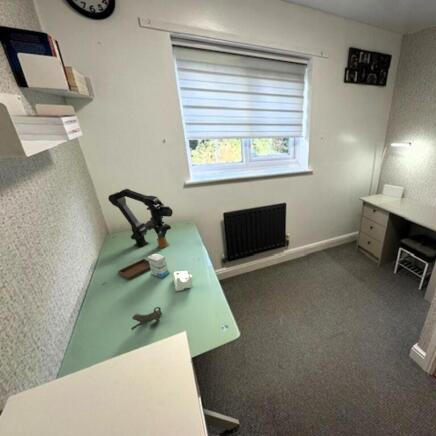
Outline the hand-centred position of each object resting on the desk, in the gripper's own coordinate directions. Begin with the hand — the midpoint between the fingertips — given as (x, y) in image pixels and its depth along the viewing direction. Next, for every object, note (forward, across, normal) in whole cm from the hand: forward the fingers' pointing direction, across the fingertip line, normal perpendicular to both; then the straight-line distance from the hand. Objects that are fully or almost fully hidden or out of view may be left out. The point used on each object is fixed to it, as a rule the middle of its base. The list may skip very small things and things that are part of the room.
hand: (161, 236), depth 163 cm
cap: (-2, 0, 0) cm, 2 cm away
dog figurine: (+8, +58, -43) cm, 72 cm away
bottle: (+8, 0, 0) cm, 8 cm away
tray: (+8, +13, -25) cm, 29 cm away
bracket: (+8, +46, -17) cm, 50 cm away
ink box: (+8, +28, -20) cm, 35 cm away
